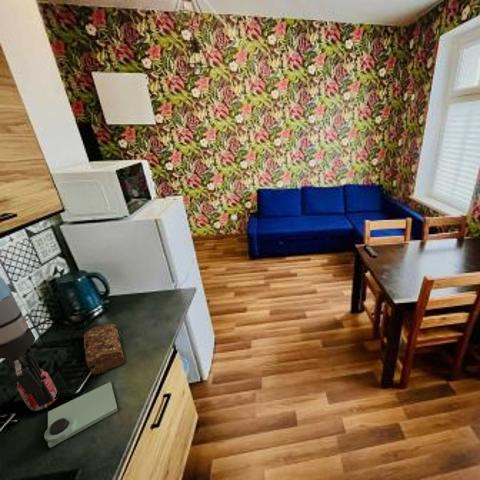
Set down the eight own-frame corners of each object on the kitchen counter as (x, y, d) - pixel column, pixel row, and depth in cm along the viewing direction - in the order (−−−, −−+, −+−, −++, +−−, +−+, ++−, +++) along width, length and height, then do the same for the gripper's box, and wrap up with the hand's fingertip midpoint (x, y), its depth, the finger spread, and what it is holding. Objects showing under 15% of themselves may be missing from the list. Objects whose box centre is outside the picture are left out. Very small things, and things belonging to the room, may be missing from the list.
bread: (90, 348, 109) (81, 329, 105) (121, 336, 115) (114, 318, 112) (91, 378, 96) (82, 358, 92) (127, 363, 102) (119, 343, 98)
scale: (48, 451, 75) (44, 444, 73) (48, 415, 84) (44, 409, 83) (118, 412, 85) (115, 406, 84) (111, 384, 94) (109, 378, 93)
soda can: (24, 408, 86) (8, 382, 81) (51, 389, 92) (37, 364, 87) (38, 416, 83) (22, 389, 79) (64, 396, 90) (51, 370, 85)
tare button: (51, 437, 75) (49, 433, 75) (51, 427, 78) (49, 423, 77) (68, 428, 78) (66, 424, 77) (68, 419, 80) (66, 415, 79)
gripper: (28, 342, 62) (65, 409, 72) (30, 316, 71) (63, 379, 80) (-21, 360, 58) (25, 429, 67) (-12, 329, 66) (27, 394, 75)
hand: (46, 402), depth 73 cm, fingers closed
